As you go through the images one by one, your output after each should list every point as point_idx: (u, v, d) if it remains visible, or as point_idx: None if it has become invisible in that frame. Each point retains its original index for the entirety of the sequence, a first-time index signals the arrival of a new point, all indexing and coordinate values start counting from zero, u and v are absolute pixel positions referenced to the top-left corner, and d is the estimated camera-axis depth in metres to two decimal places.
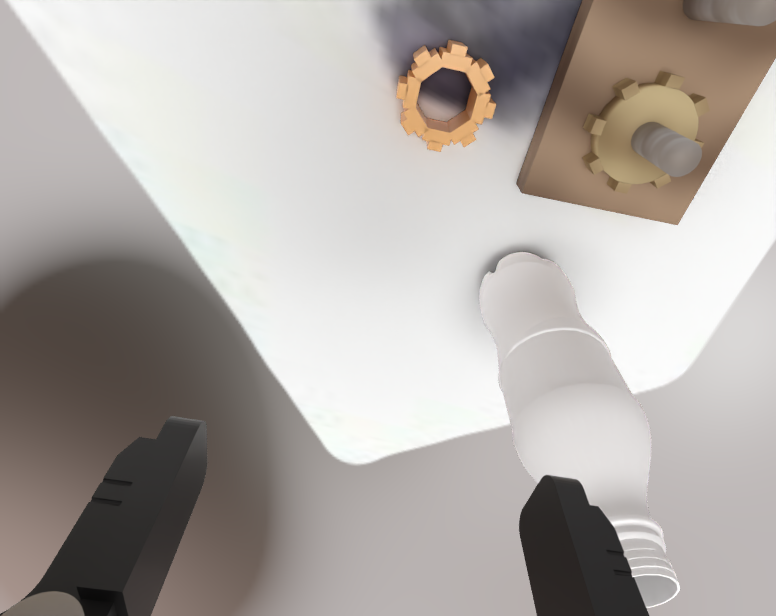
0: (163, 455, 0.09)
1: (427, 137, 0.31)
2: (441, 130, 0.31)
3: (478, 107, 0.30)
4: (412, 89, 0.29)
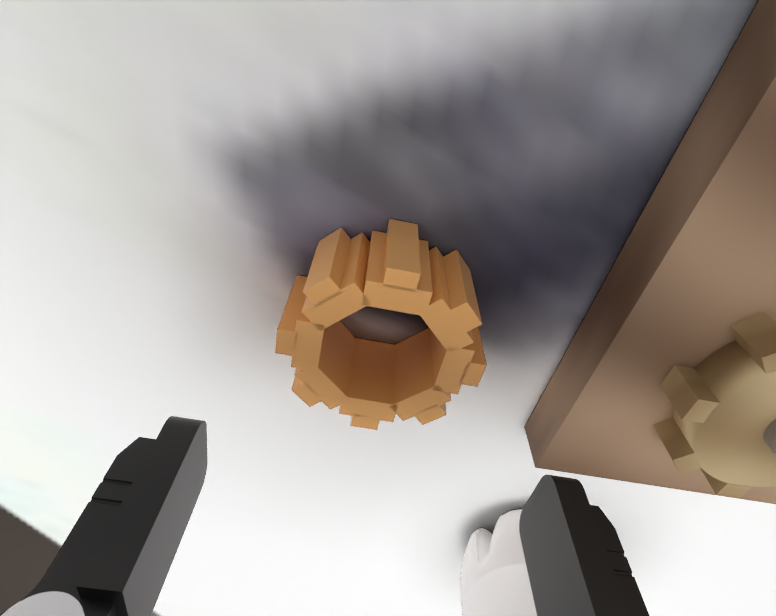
0: (163, 455, 0.09)
1: (348, 410, 0.15)
2: (376, 397, 0.15)
3: (449, 370, 0.14)
4: (306, 340, 0.14)
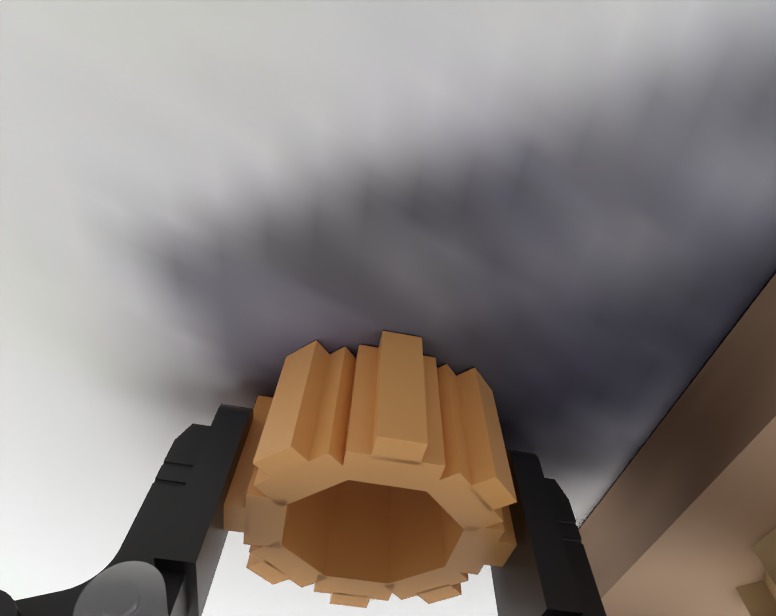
0: (219, 439, 0.10)
1: (326, 588, 0.11)
2: (364, 572, 0.11)
3: (467, 551, 0.10)
4: (262, 516, 0.09)
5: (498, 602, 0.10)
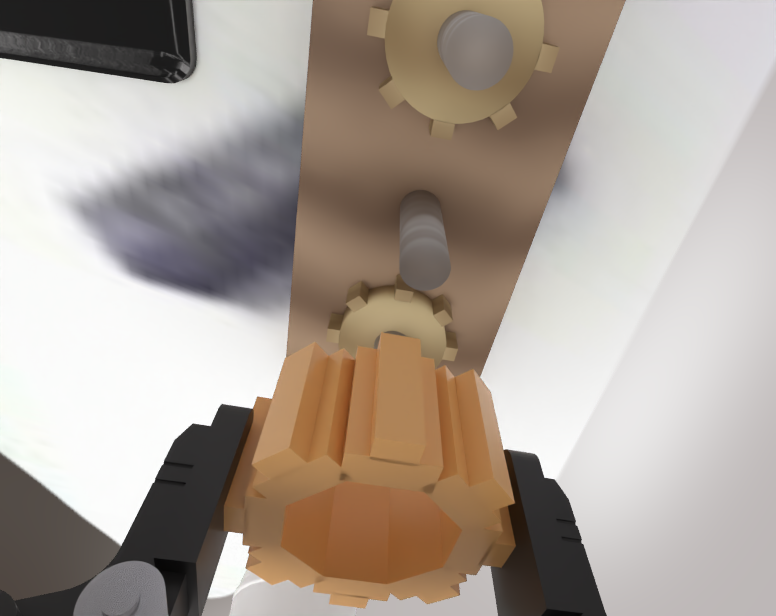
0: (219, 440, 0.10)
1: (325, 589, 0.11)
2: (363, 573, 0.11)
3: (465, 552, 0.10)
4: (261, 517, 0.10)
5: (498, 602, 0.10)
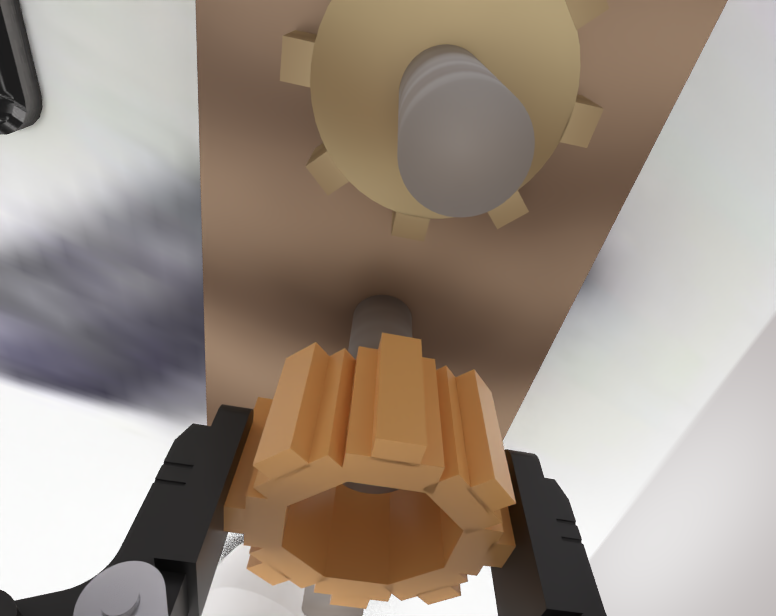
0: (219, 440, 0.10)
1: (325, 589, 0.11)
2: (364, 573, 0.11)
3: (466, 552, 0.10)
4: (262, 517, 0.10)
5: (498, 602, 0.10)
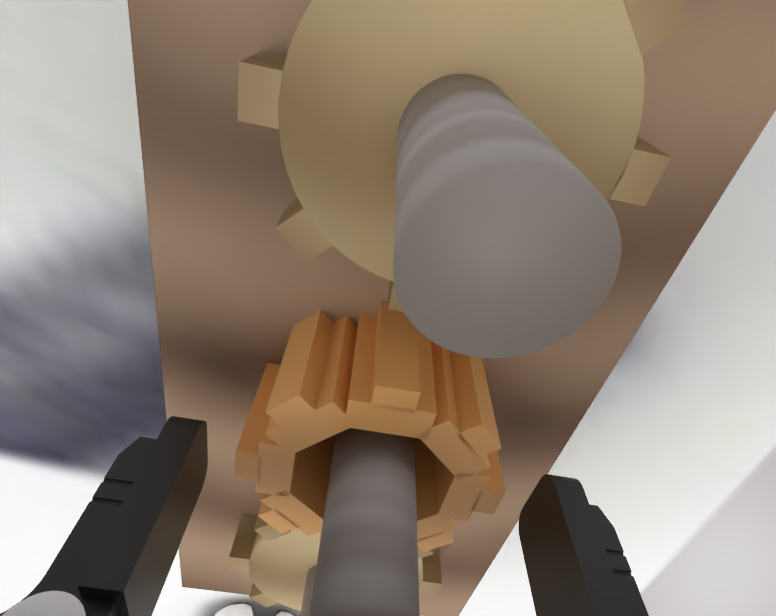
0: (164, 454, 0.09)
1: None
2: None
3: (457, 497, 0.11)
4: (273, 464, 0.11)
5: None
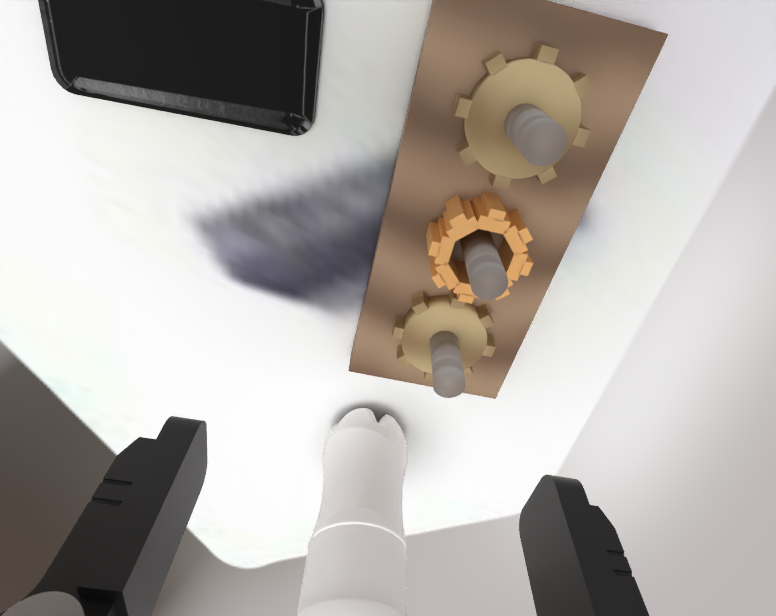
0: (163, 455, 0.09)
1: (458, 290, 0.29)
2: None
3: (514, 265, 0.28)
4: (445, 247, 0.28)
5: None
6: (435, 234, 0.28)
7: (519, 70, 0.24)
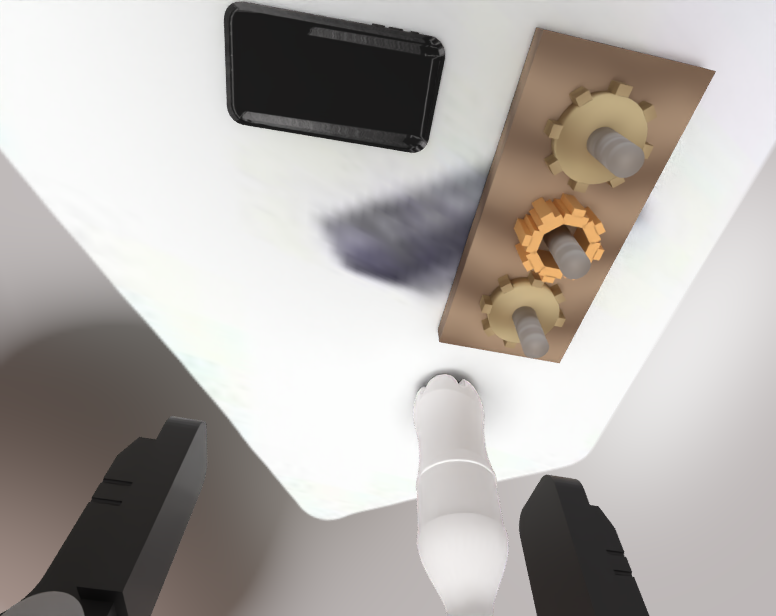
0: (163, 455, 0.09)
1: (543, 273, 0.37)
2: (555, 267, 0.37)
3: (589, 252, 0.36)
4: (535, 239, 0.35)
5: None
6: (526, 228, 0.36)
7: (601, 102, 0.31)
